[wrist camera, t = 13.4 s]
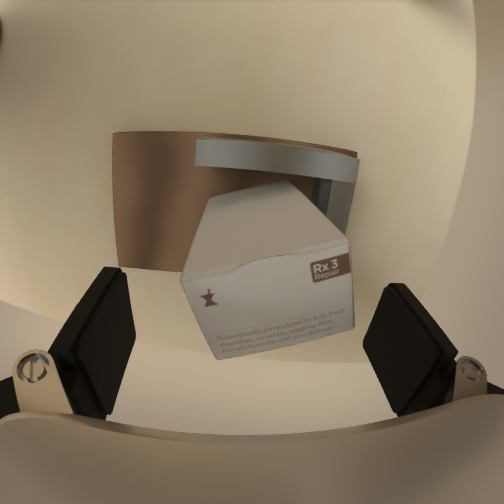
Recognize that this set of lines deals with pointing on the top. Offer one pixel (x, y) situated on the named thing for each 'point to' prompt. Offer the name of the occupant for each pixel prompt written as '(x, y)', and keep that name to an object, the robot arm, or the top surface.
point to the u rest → (210, 185)
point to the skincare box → (267, 272)
